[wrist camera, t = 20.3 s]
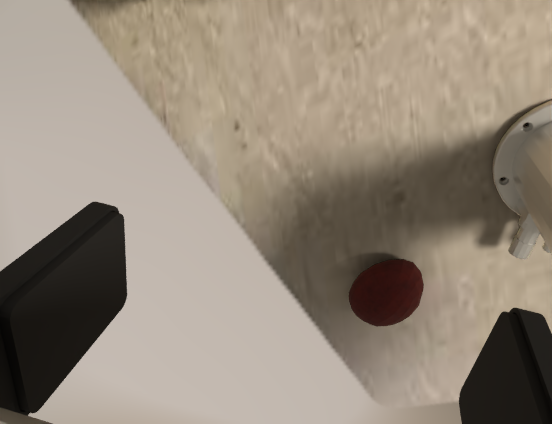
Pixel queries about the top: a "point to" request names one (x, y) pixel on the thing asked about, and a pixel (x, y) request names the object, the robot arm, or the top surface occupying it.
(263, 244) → the top surface
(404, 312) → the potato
